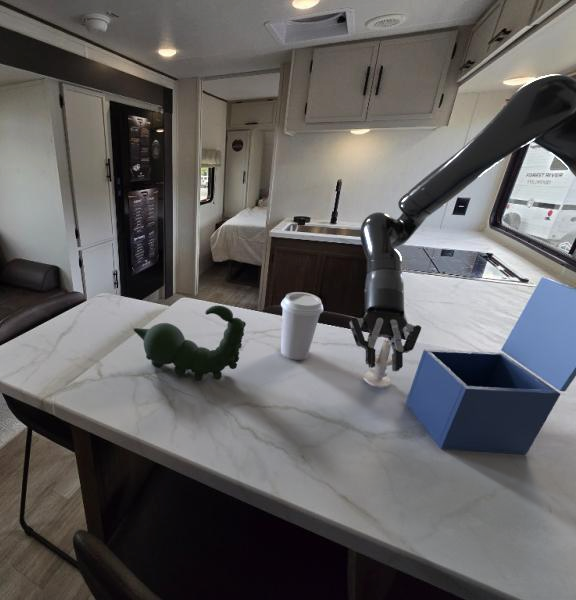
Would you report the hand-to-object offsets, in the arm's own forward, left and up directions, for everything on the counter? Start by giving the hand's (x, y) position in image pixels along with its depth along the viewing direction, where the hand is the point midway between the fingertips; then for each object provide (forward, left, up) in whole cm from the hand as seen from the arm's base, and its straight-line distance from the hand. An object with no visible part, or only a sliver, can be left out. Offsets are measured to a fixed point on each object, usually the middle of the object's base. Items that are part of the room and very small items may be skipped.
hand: (383, 368), depth 71 cm
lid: (-17, +10, +15) cm, 25 cm away
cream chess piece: (0, -2, -5) cm, 5 cm away
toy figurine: (+42, -3, -5) cm, 42 cm away
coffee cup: (+15, -13, -5) cm, 20 cm away
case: (-10, +10, -5) cm, 15 cm away
